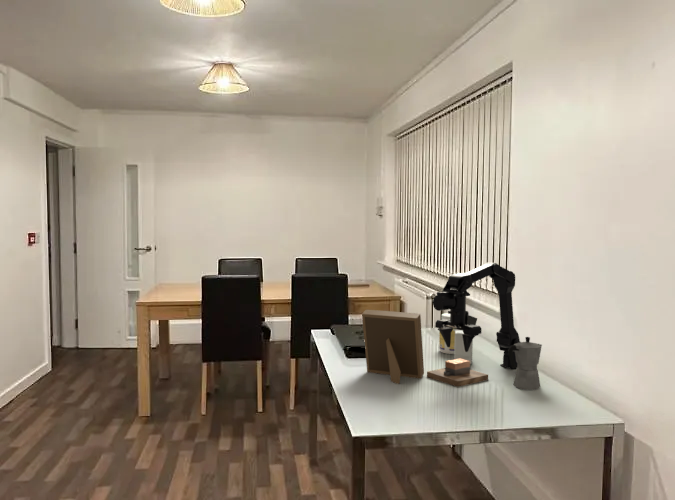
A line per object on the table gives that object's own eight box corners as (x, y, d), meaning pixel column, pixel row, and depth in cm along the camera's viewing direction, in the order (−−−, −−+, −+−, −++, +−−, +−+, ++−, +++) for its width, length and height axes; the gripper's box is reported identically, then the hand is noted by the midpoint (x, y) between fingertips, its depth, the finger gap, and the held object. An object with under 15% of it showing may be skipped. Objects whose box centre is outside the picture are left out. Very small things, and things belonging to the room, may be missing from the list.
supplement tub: (470, 350, 265) (471, 314, 264) (460, 356, 254) (461, 318, 253) (445, 347, 271) (445, 311, 270) (434, 352, 261) (435, 315, 260)
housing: (469, 372, 220) (470, 360, 219) (450, 377, 214) (451, 364, 214) (460, 370, 224) (460, 358, 224) (441, 373, 218) (441, 361, 218)
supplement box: (472, 364, 241) (472, 333, 240) (454, 363, 242) (454, 333, 242) (472, 359, 248) (472, 330, 248) (454, 358, 250) (454, 329, 249)
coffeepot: (530, 380, 216) (531, 333, 215) (550, 387, 208) (551, 337, 207) (498, 386, 210) (499, 336, 209) (517, 393, 201) (518, 341, 200)
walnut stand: (456, 370, 231) (456, 365, 231) (488, 379, 217) (488, 374, 217) (426, 376, 222) (427, 371, 222) (457, 386, 208) (457, 381, 208)
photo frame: (371, 369, 232) (371, 307, 230) (424, 375, 223) (424, 311, 221) (356, 379, 219) (356, 313, 217) (412, 386, 210) (412, 317, 208)
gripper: (491, 309, 215) (491, 351, 216) (455, 303, 231) (454, 342, 232) (471, 312, 209) (470, 355, 210) (434, 305, 225) (434, 345, 225)
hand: (457, 349), depth 219 cm, fingers open, 9 cm apart
